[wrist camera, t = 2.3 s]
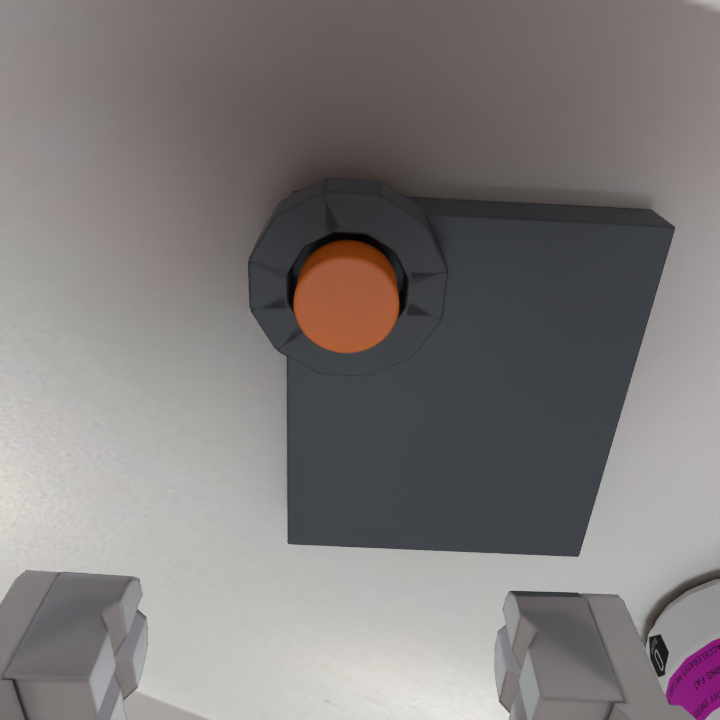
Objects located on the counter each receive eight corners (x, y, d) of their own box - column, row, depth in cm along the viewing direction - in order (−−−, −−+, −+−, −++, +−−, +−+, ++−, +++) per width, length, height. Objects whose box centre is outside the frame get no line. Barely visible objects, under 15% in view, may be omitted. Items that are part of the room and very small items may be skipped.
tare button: (298, 236, 19) (293, 254, 18) (401, 241, 19) (403, 259, 18) (297, 328, 20) (293, 351, 19) (393, 332, 20) (395, 356, 19)
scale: (262, 159, 21) (244, 186, 18) (660, 180, 21) (710, 211, 18) (270, 511, 28) (258, 574, 25) (566, 525, 28) (591, 588, 25)
